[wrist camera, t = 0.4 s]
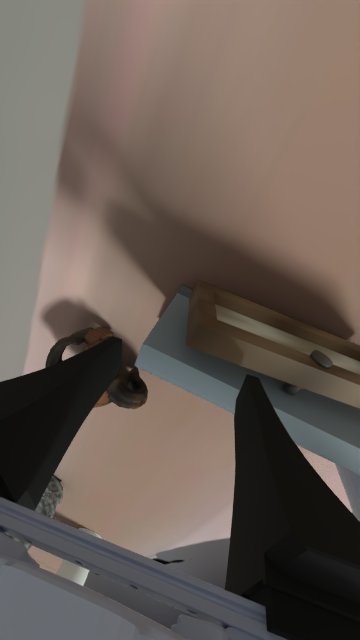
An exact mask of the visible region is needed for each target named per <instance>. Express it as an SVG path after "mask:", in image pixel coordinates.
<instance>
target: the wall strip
mask: <svg viewBox="0 0 360 640" xmlns="http://www.w3.org/2000/svg"><path fill="white" fill-rule="evenodd" d="M192 291H193V290H192V289H190V288H188V287H186V286H184V285H181V286H180V288H179V290H178V292H177V294H176V295H175V297H174V298H173V300H172V301H171V303H170V304H169V306H168V307H167V309H166V310H165V312H164V313H163V315H162V316H161V318H160V319H159V320H158V322H157V323H156V325H155V326H154V328H153V329H152V331H151V332H150V334H149V335H148V337H147V338H146V340H145V341H144V343H143V345H142V347H141V350H140V352H139V355H138V357H137V360H136V362H135V366H137V367H139V368H141V369H143V370H145V371H147V372H149V373H151V374H153V375H155V376H157V377H159V378H161V379H163V380H165V381H167V382H170V383H172V384H174V385H176V386H178V387H180V388H182V389H184V390H186V391H188V392H190V393H192V394H194V395H196V396H198V397H200V398H202V399H204V400H206V401H209V402H211V403H213V404H215V405H217V406H219V407H221V408H223V409H225V410H227V411H229V412H231V413H233V414H235V404H236V398H237V396H238V394H239V391H240V389H241V387H242V384H243V382H244V380H245V377H246V375H247V374H248V375H252V376H255V377H258V378H259V379H260V381H261V383H262V386H263V388H264V390H265V392H266V394H267V396H268V398H269V400H270V402H271V404H272V406H273V407H274V409H275V411H276V413H277V415H278V417H279V418H280V420H281V422H282V424H283V425H284V427H285V428H286V430H287V432H288V433H289V435H290V437H291V438H292V440H293V441H294V443H295V444H297V445H299V446H301V447H303V448H305V449H307V450H309V451H311V452H313V453H315V454H317V455H319V456H321V457H323V458H326V459H328V460H330V461H332V462H334V463H336V464H338V465H340V466H342V467H344V468H346V469H348V470H350V471H352V472H354V473H356V474H358V475H360V408H357V407H354V406H351V405H348V404H346V403H343V402H340V401H337V400H334V399H332V398H329V397H326V396H323V395H321V394H318V393H315V392H312V391H309V390H307V389H304V388H302V389H301V390H300V391H299V392H297V393H296V394H295V395H294V396H292V395H290V394H288V393H287V392H286V391H285V390H284V388H283V384H284V383H285V382H284V381H282V380H279V379H276V378H273V377H270V376H268V375H265V374H262V373H259V372H256V371H254V370H251V369H248V368H245V367H243V366H240V365H237V364H234V363H231V362H229V361H226V360H223V359H220V358H217V357H215V356H212V355H209V354H206V353H204V352H201V351H198V350H195V349H192V348H190V347H187V346H186V335H187V323H188V310H189V298H190V295H191V293H192Z"/></svg>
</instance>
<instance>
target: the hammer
mask: <svg viewBox="0 0 360 640" xmlns="http://www.w3.org/2000/svg"><path fill="white" fill-rule="evenodd" d="M62 498H63V487H62V486H61V484H60V483H59V481H58V480H57V479H56V478H55V476H52V478H51V480H50V482H49V484H48V486H47V488H46V490H45V492H44V494H43V496H42V498H41V500H40V502H39V504H38V506H37V508H36V509H35V510H34V511H35V512H38V513H40V514H43V515H45V516H47V517H50V518H52V517H53V515H54V513H55V508H56V506H57V505H58V504H59V503H60V502H61V500H62ZM4 534H5V533H4ZM5 535H6V536H8V537H10V538H11V539H13V540H15V541H17V542H18V543H20V544H22V545H23V546H25V547H26V548H27V551H28V550H29V549H30V547H31V546H32V545H30V544H28V543H26V542H23V541H21V540H19V539H17V538H14V537H12V536H10V535H7V534H5Z"/></svg>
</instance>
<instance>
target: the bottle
mask: <svg viewBox="0 0 360 640" xmlns="http://www.w3.org/2000/svg"><path fill="white" fill-rule="evenodd" d="M79 530H81V531H84V532H86V533H89V534H91V535H93V536H96V537H98V538H101V537H100V536H99V535H98V534H97V533H95V532H93V531H91V530H89V529H86V528H79ZM101 539H102V538H101ZM88 572H89V570H87V569H85V568H83V567H81V566H78V565H76V564H74V563H71V562H69V561H67V560H65V559H63V561H62V563H61V566H60V568H59V570H58V572H57V574H56V575H59V576H61V577H64V578H66V579H68V580H71V581H73V582H75V583H77V584H80V585H82V586H83V585H84V582H85V580H86V577H87V575H88Z"/></svg>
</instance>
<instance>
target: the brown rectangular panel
mask: <svg viewBox="0 0 360 640" xmlns="http://www.w3.org/2000/svg"><path fill="white" fill-rule="evenodd" d="M186 346H187V347H190V348H192V349H195V350H198V351H201V352H204V353H206V354H209V355H212V356H215V357H217V358H220V359H223V360H226V361H229V362H231V363H234V364H237V365H240V366H243V367H245V368H248V369H251V370H254V371H256V372H259V373H262V374H265V375H268V376H270V377H273V378H276V379H279V380H282V381H284V382H285V383H284V384H283V388H284V390H285V391H286V392H287V393H288V394H290V395H292V396H294V395H295V394H296V393H297V392H299V391H300V390H301V389H302V388H304V389H307V390H309V391H312V392H315V393H318V394H321V395H323V396H326V397H329V398H332V399H334V400H337V401H340V402H343V403H346V404H348V405H351V406H354V407H357V408H360V346H359V345H356V344H354V343H352V342H349V341H347V340H344V339H342V338H339V337H337V336H335V335H332V334H330V333H327V332H325V331H322V330H320V329H317V328H315V327H313V326H310V325H308V324H305V323H303V322H300V321H298V320H296V319H293V318H291V317H288V316H286V315H283V314H281V313H278V312H276V311H274V310H271V309H269V308H266V307H264V306H261V305H259V304H257V303H254V302H252V301H249V300H247V299H244V298H242V297H239V296H237V295H235V294H232V293H230V292H227V291H225V290H222V289H220V288H218V287H215V286H213V285H210V284H208V283H205V282H203V281H201V280H197V283H196V285H195V287H194V289H193V291H192V293H191V295H190V298H189V310H188V323H187V335H186Z"/></svg>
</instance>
